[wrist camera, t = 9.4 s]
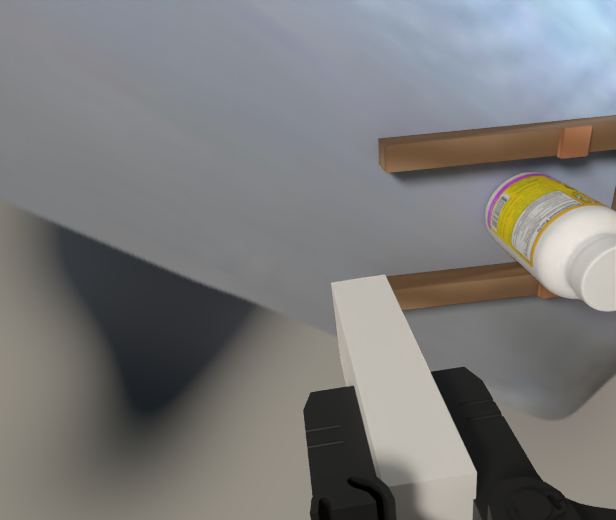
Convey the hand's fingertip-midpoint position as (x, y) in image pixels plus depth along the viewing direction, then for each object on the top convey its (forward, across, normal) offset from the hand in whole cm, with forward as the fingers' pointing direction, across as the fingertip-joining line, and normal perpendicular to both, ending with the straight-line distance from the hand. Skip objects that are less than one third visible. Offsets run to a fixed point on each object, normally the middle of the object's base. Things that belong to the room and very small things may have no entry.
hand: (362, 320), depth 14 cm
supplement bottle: (+26, +18, -10) cm, 33 cm away
